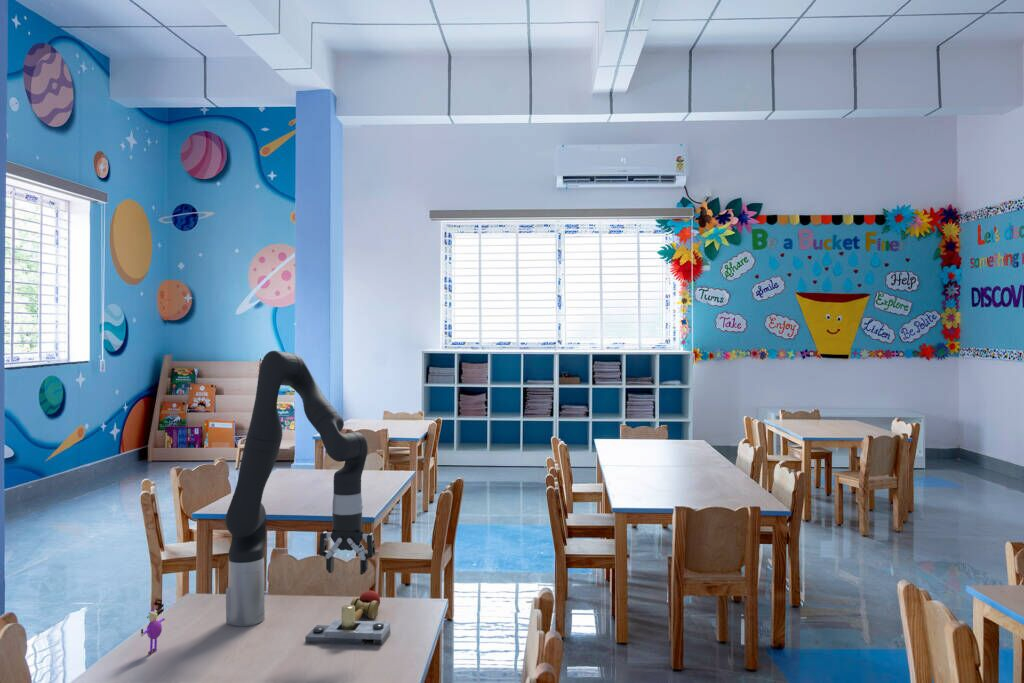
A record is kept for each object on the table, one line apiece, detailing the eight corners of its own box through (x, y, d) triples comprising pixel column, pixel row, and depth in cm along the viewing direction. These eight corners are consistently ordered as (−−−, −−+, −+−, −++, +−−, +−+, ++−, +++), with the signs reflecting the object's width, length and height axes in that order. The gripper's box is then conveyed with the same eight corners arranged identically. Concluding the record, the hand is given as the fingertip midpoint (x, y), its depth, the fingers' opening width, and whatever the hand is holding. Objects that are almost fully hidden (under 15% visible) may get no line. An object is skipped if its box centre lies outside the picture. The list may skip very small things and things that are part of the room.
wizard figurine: (159, 643, 196) (159, 596, 196) (171, 643, 196) (171, 596, 196) (135, 662, 185) (135, 612, 185) (148, 662, 185) (148, 612, 185)
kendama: (365, 637, 203) (388, 604, 220) (359, 615, 202) (383, 584, 220) (338, 640, 204) (363, 607, 222) (332, 618, 204) (358, 587, 221)
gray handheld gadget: (305, 642, 196) (305, 628, 196) (317, 630, 204) (316, 617, 204) (381, 645, 194) (381, 631, 194) (390, 633, 202) (390, 619, 202)
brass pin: (339, 640, 197) (339, 609, 197) (344, 635, 201) (344, 604, 201) (352, 640, 197) (352, 609, 197) (357, 635, 200) (356, 605, 200)
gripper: (315, 512, 196) (315, 576, 196) (369, 514, 194) (369, 578, 194) (326, 506, 203) (325, 567, 203) (378, 508, 201) (378, 569, 201)
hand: (347, 572), depth 199 cm, fingers open, 8 cm apart
